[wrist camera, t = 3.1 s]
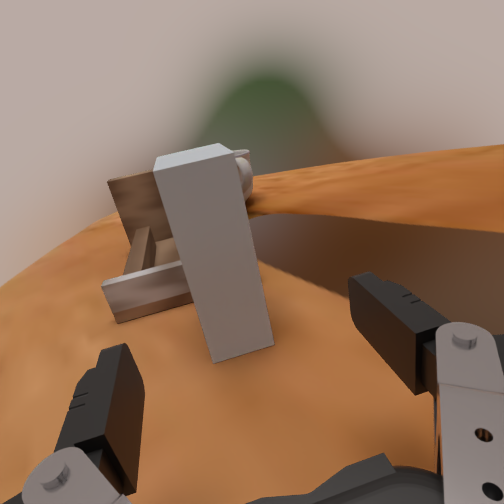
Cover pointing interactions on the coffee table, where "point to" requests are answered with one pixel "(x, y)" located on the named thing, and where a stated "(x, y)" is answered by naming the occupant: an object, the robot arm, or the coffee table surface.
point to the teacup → (244, 172)
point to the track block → (145, 253)
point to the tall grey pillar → (215, 248)
